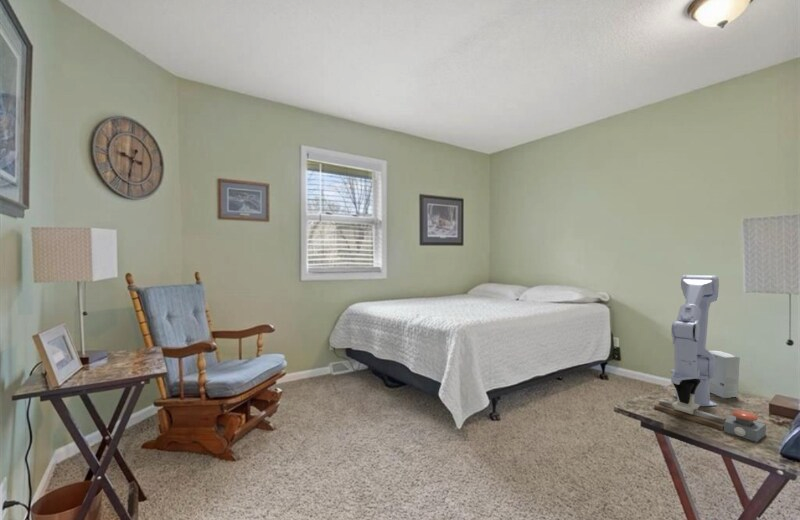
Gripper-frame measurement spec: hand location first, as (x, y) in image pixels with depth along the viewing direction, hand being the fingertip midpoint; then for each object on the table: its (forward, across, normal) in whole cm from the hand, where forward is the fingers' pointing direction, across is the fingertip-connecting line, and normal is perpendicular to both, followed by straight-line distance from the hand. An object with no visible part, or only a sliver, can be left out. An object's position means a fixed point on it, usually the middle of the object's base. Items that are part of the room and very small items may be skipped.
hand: (685, 401), depth 117 cm
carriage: (+3, 0, 0) cm, 3 cm away
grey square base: (+4, 0, +14) cm, 15 cm away
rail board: (+4, 0, +1) cm, 4 cm away
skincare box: (+4, -30, -1) cm, 30 cm away
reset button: (+2, 0, +14) cm, 14 cm away
